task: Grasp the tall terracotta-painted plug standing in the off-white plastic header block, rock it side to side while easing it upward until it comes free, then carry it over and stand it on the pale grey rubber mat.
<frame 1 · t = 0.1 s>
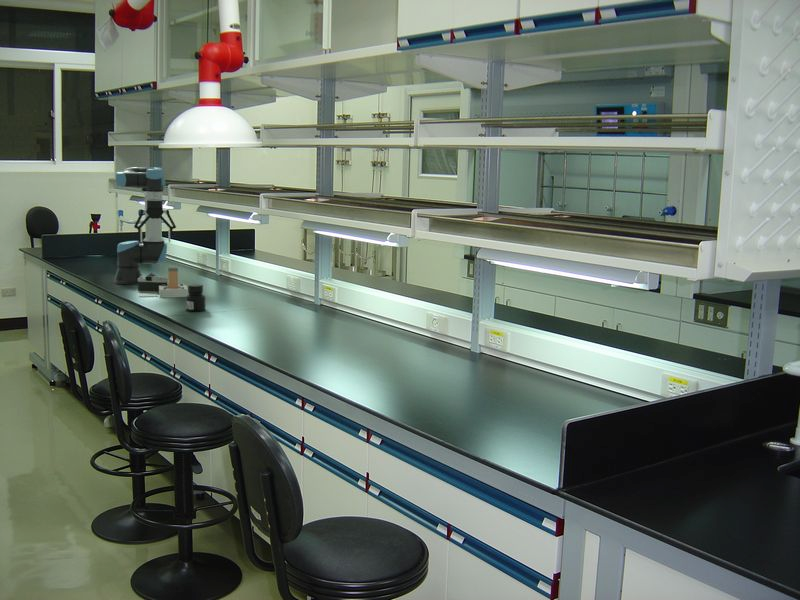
hand: (155, 242, 409), 28 cm above the counter, fingers open, 13 cm apart
mat: (148, 295, 416), on the counter
ink bottle: (195, 310, 379), on the counter
camera: (154, 291, 429), on the counter
header: (173, 294, 419), on the counter
plug: (173, 295, 419), resting in header
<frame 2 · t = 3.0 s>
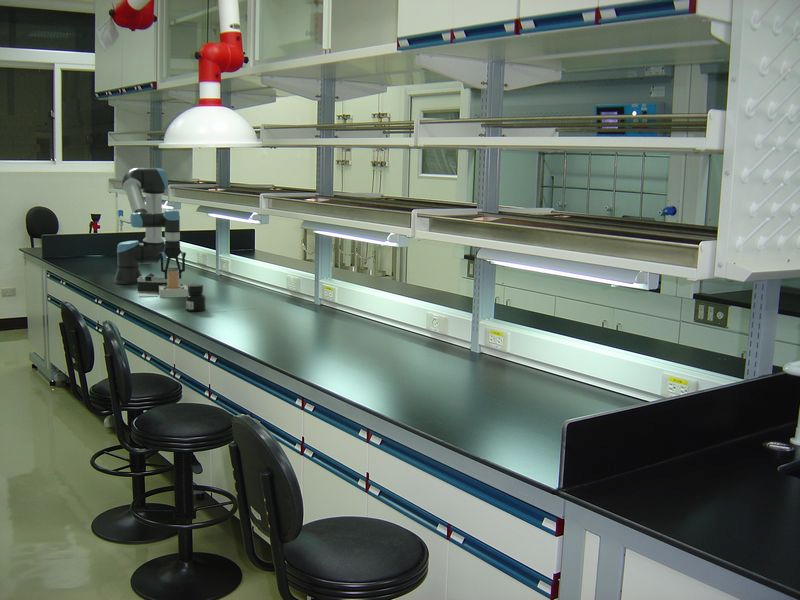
hand: (173, 285, 419), 5 cm above the counter, fingers closed on plug, 4 cm apart
plug: (173, 295, 419), resting in header, touching gripper
everything else where it was.
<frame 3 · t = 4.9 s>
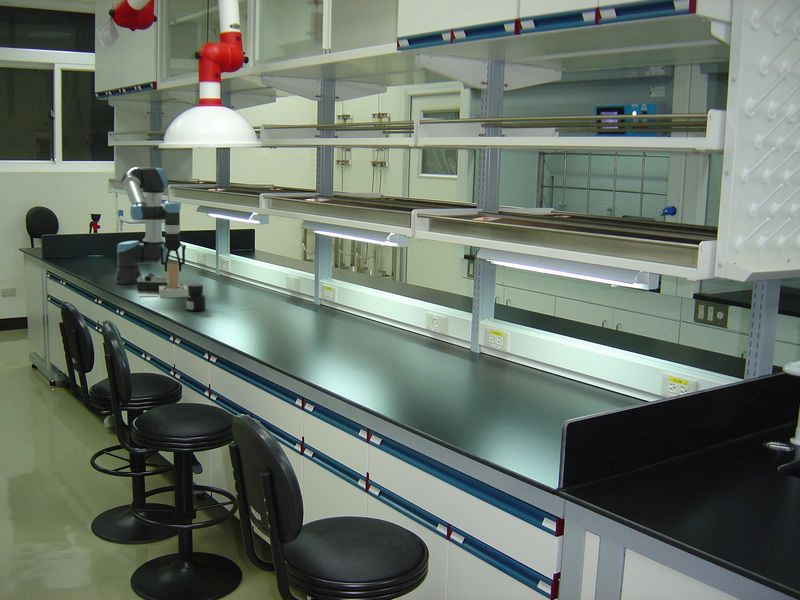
hand: (173, 277, 418), 9 cm above the counter, fingers closed on plug, 4 cm apart
plug: (173, 287, 419), point 4 cm above the counter, touching gripper
everything else where it was.
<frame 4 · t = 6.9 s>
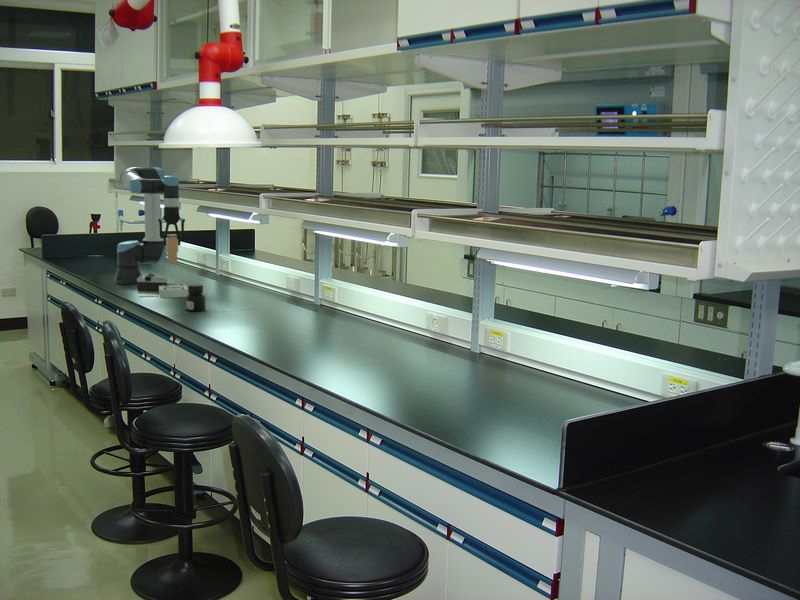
hand: (172, 251, 416), 23 cm above the counter, fingers closed on plug, 4 cm apart
plug: (172, 261, 417), point 17 cm above the counter, touching gripper
everything else where it was.
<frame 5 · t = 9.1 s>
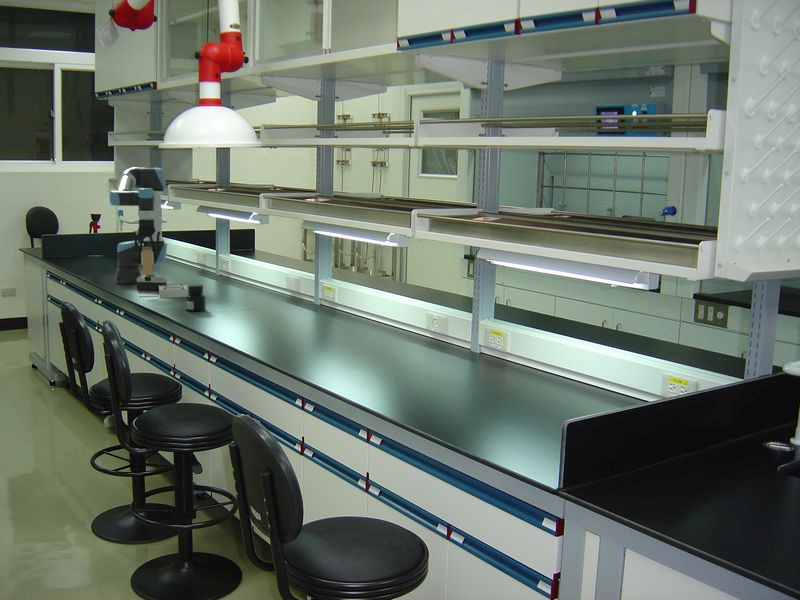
hand: (147, 264, 413), 16 cm above the counter, fingers closed on plug, 4 cm apart
plug: (147, 274, 413), point 11 cm above the counter, touching gripper
everything else where it was.
when the fingers open (7 cm above the counter, at t = 11.0 s): plug drops 1 cm, resting on mat.
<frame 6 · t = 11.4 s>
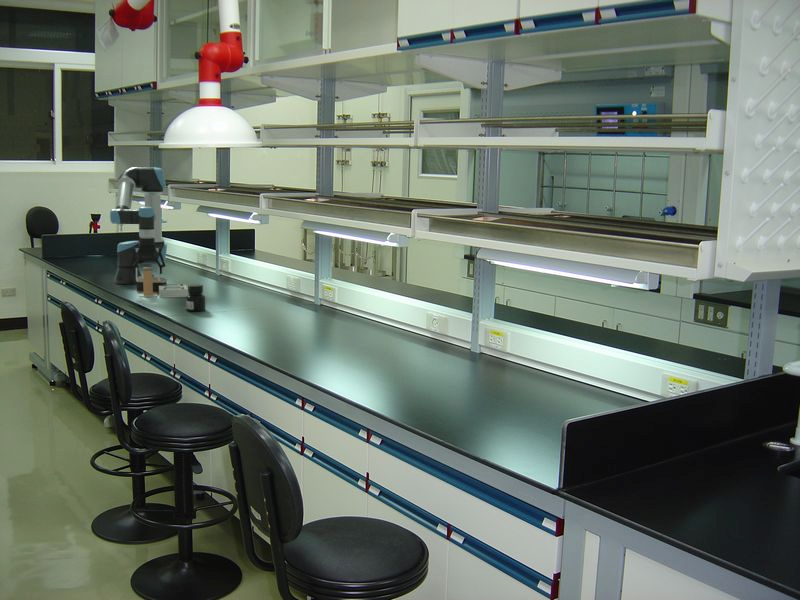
hand: (147, 280, 414), 8 cm above the counter, fingers open, 10 cm apart
plug: (148, 294, 415), resting on mat
everything else where it was.
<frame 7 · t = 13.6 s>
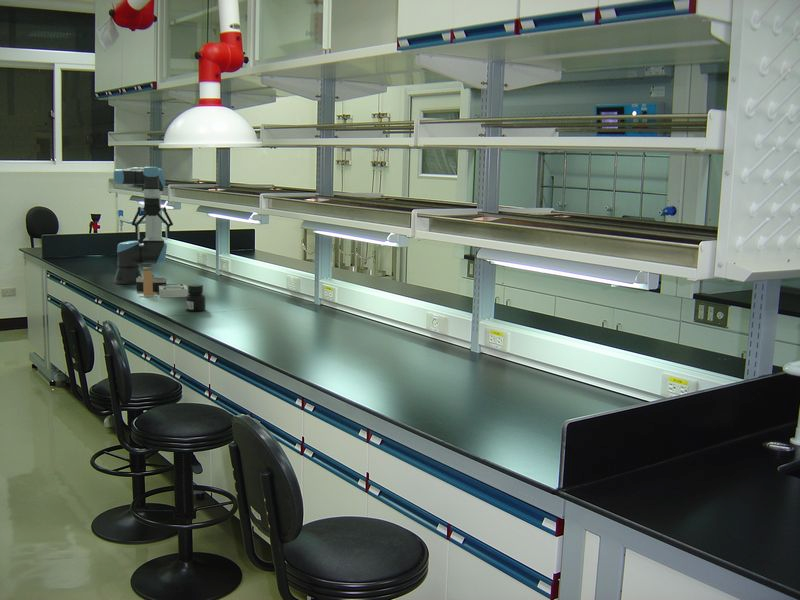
hand: (152, 239, 413), 29 cm above the counter, fingers open, 13 cm apart
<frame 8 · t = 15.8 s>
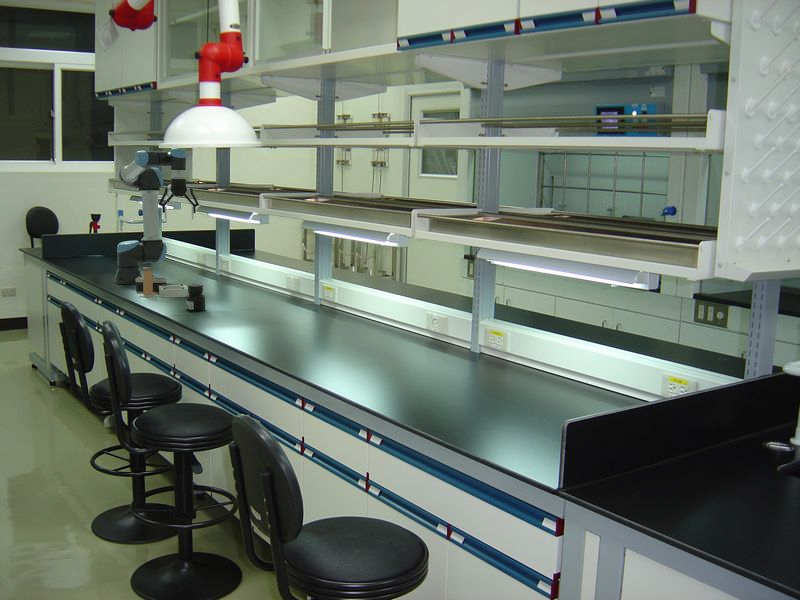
hand: (179, 219, 422), 39 cm above the counter, fingers open, 13 cm apart
camera: (152, 292, 428), on the counter, touching header
everything else where it was.
at the end: plug inside the target area on the mat (0.0 cm from its centre), point 0.4 cm above the mat's base; plug tilted 0°; plug touching mat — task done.
